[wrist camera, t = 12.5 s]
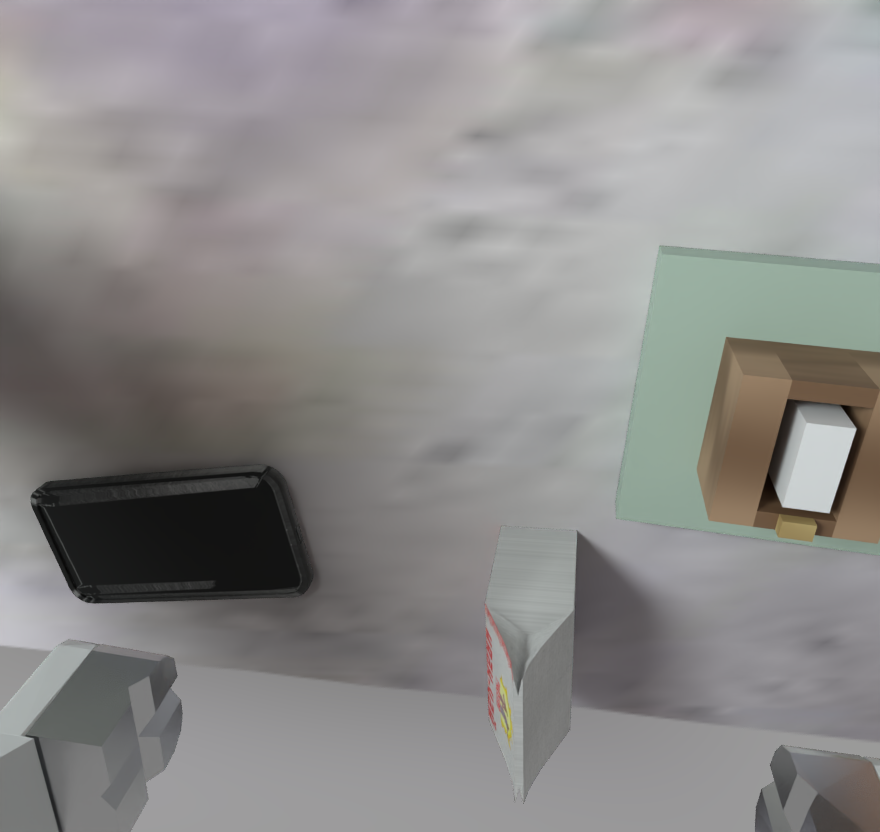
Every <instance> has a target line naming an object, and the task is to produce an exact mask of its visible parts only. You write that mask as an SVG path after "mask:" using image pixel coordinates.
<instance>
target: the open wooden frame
mask: <svg viewBox="0 0 880 832" xmlns="http://www.w3.org/2000/svg"><path fill="white" fill-rule="evenodd" d="M787 399H794V400H803V401H812V402H821V403H830V404H839V405H840V406H841V407H842V409H843V410H844V411H845V413H846V414H847V416H848V417H849V419H850V420H851V421H852V423H853V424H854V426H855V427H856V432H855V435H854V438H853V441H852V445H851V448H850V451H849V454H848V457H847V460H846V463H845V466H844V469H843V473H842V476H841V479H840V482H839V485H838V488H837V491H836V494H835V497H834V500H833V504H832V507H831V510H830V513H823V512H816V511H808V510H801V509H793V508H785V507H782V505H781V502H780V500H779V498H778V495H777V493H776V490H775V488H774V485H773V483H772V481H771V478H770V476H769V473H768V469H769V465H770V461H771V457H772V454H773V450H774V446H775V443H776V439H777V435H778V432H779V428H780V424H781V420H782V417H783V413H784V409H785V406H786V402H787ZM696 470H697V474H698V478H699V482H700V486H701V491H702V495H703V499H704V503H705V507H706V512H707V516H708V520H709V521H714V522H722V523H729V524H736V525H744V526H751V527H758V528H766V529H773V530H775V531H776V534H777V536H778V537H779V538H786V539H794V540H801V541H808V542H812V541H813V538H814V535H817V536H824V537H831V538H839V539H846V540H853V541H861V542H868V543H875V544H878V542H879V539H880V352H872V351H862V350H852V349H842V348H832V347H822V346H812V345H802V344H793V343H783V342H773V341H763V340H753V339H743V338H733V337H726V339H725V343H724V348H723V352H722V357H721V361H720V366H719V370H718V375H717V379H716V384H715V388H714V393H713V397H712V402H711V406H710V411H709V415H708V420H707V424H706V429H705V433H704V438H703V442H702V447H701V451H700V456H699V460H698V465H697V469H696Z"/></svg>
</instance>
